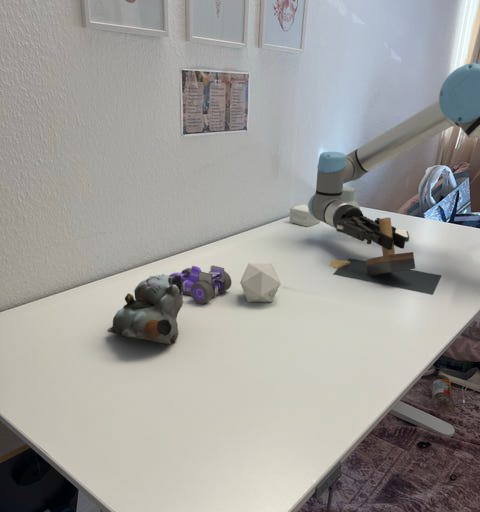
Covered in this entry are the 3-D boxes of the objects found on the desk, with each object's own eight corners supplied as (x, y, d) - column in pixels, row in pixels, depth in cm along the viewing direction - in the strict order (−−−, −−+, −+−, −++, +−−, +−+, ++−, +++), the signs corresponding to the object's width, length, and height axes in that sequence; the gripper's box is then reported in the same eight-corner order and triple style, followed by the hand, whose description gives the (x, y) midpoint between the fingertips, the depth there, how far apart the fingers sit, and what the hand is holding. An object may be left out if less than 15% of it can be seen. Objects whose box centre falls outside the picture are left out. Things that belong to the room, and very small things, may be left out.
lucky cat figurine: (100, 329, 93) (118, 260, 93) (158, 340, 99) (174, 275, 99) (120, 342, 80) (140, 262, 80) (185, 355, 86) (204, 280, 86)
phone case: (406, 234, 155) (356, 229, 158) (407, 229, 155) (357, 224, 158) (408, 243, 148) (356, 237, 151) (410, 238, 147) (357, 232, 150)
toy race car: (181, 277, 118) (180, 252, 115) (231, 292, 111) (232, 265, 108) (155, 290, 111) (153, 264, 108) (207, 306, 104) (207, 278, 101)
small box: (320, 222, 165) (321, 208, 163) (306, 227, 160) (308, 211, 158) (302, 218, 170) (303, 203, 167) (288, 222, 165) (289, 207, 162)
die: (266, 314, 102) (292, 274, 102) (231, 292, 102) (256, 252, 101) (263, 310, 111) (286, 274, 110) (230, 290, 110) (253, 253, 109)
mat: (440, 279, 121) (441, 275, 121) (432, 298, 110) (432, 294, 110) (348, 261, 131) (349, 258, 131) (332, 277, 120) (332, 274, 120)
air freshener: (357, 214, 176) (361, 187, 171) (358, 220, 169) (362, 191, 164) (327, 212, 178) (330, 185, 173) (327, 218, 170) (330, 190, 166)
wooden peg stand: (415, 268, 113) (408, 213, 113) (391, 271, 111) (384, 215, 110) (390, 272, 121) (384, 221, 121) (367, 275, 119) (361, 223, 118)
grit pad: (350, 263, 126) (350, 261, 125) (338, 269, 123) (337, 266, 123) (335, 261, 130) (335, 259, 129) (323, 267, 127) (323, 264, 127)
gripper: (367, 228, 136) (421, 255, 117) (317, 233, 131) (366, 262, 111) (370, 202, 133) (428, 225, 113) (320, 205, 127) (371, 230, 108)
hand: (397, 243), depth 112 cm, fingers closed on wooden peg stand, 3 cm apart
